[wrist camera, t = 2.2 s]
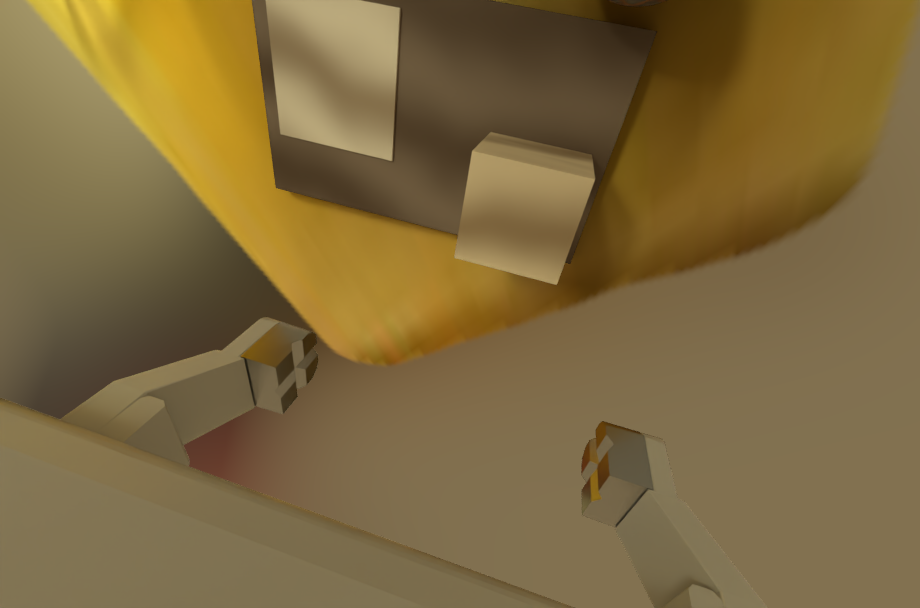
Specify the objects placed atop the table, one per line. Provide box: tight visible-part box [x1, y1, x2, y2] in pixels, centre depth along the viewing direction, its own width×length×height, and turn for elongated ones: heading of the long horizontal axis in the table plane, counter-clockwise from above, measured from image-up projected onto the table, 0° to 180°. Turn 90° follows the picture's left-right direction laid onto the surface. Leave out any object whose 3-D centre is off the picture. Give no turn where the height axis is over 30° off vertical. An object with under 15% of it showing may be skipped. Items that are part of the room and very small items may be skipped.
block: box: [454, 132, 595, 285], centre depth 22 cm, size 6×6×5 cm
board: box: [252, 0, 657, 264], centre depth 24 cm, size 13×22×1 cm, turn 81°
